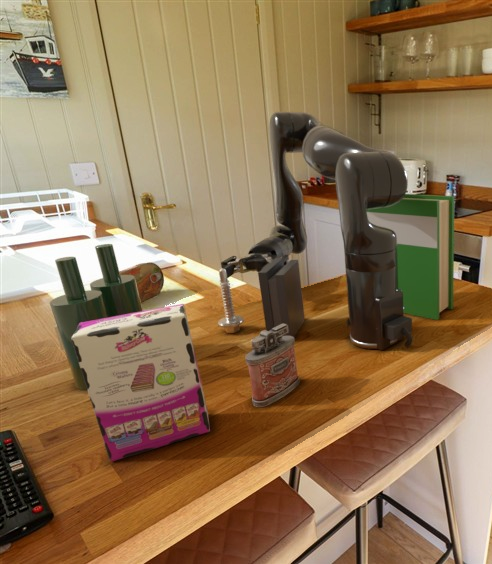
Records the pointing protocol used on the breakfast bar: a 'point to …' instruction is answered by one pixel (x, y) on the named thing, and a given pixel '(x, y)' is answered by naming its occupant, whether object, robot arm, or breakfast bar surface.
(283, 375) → the lighter
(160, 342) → the candy bar box
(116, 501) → the breakfast bar surface
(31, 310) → the breakfast bar surface
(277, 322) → the dark grey grooved block
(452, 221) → the hardback book
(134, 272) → the tin
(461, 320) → the breakfast bar surface
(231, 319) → the screw
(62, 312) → the wine bottles
